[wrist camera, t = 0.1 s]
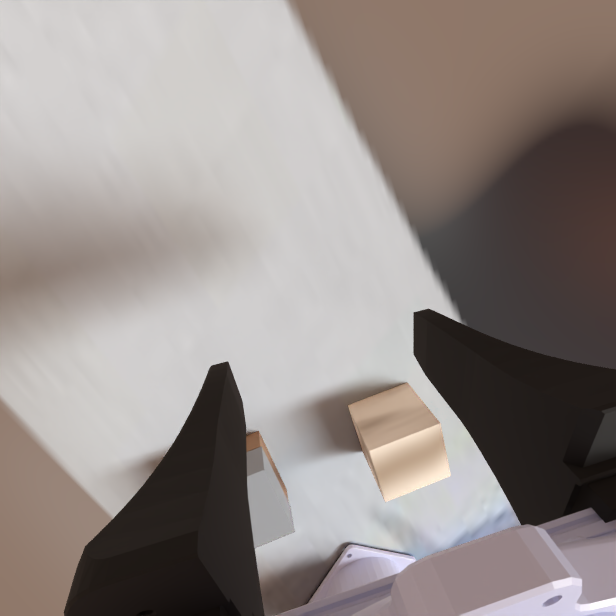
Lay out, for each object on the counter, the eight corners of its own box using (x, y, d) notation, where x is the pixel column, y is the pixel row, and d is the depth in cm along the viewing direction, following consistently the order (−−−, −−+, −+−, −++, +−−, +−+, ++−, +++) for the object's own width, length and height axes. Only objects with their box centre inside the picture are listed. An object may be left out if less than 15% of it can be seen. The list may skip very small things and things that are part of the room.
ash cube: (418, 429, 30) (450, 475, 25) (362, 450, 30) (385, 502, 25) (406, 381, 28) (440, 423, 23) (347, 404, 28) (369, 451, 23)
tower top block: (290, 506, 28) (294, 531, 26) (211, 538, 28) (209, 566, 26) (261, 446, 26) (264, 469, 24) (173, 480, 25) (168, 507, 23)
